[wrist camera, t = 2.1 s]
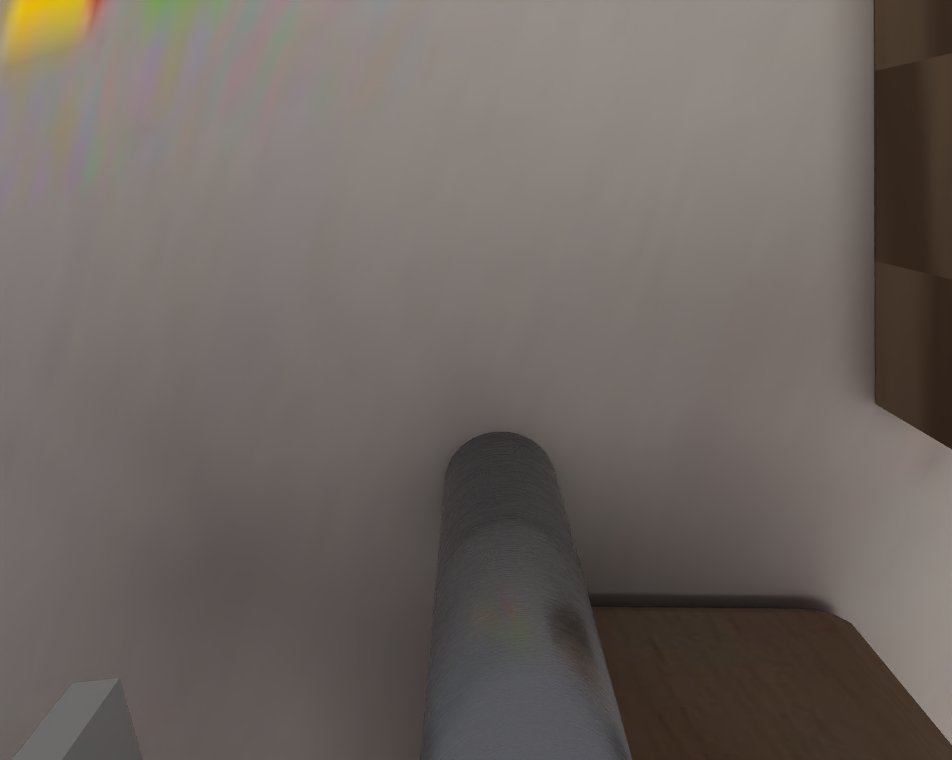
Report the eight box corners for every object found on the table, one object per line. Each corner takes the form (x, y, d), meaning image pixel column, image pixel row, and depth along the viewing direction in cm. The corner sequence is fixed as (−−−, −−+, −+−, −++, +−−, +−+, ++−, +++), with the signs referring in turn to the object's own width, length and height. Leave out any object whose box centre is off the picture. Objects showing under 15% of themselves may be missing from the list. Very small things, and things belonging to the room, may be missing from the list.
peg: (450, 544, 22) (418, 1129, 9) (435, 437, 22) (371, 899, 8) (563, 531, 22) (705, 1100, 9) (551, 423, 21) (688, 865, 8)
